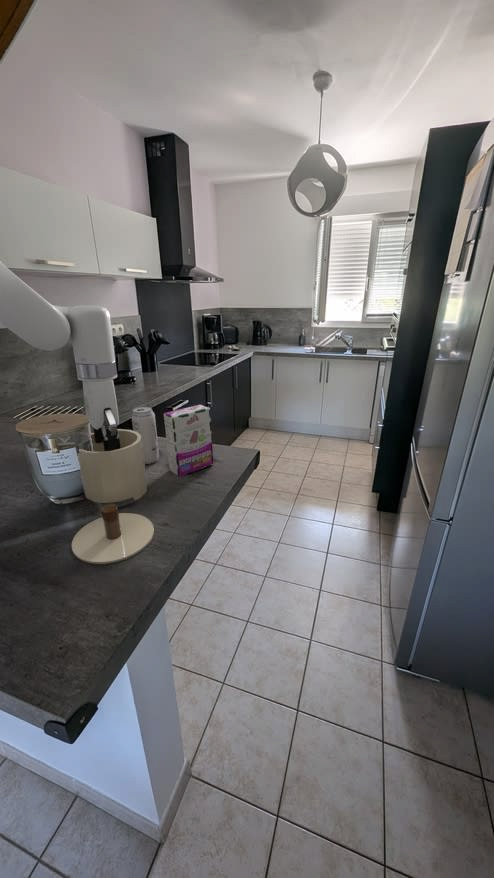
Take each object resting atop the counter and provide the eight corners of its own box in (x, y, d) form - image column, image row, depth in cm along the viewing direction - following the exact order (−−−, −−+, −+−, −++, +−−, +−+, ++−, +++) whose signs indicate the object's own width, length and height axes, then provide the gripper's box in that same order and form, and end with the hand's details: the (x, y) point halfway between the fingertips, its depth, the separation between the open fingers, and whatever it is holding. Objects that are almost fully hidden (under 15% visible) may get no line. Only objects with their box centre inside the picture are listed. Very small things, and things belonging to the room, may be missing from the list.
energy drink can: (159, 464, 97) (154, 412, 92) (136, 466, 96) (129, 413, 90) (159, 455, 103) (154, 405, 97) (137, 457, 101) (131, 407, 96)
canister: (93, 516, 74) (81, 458, 69) (80, 489, 85) (69, 436, 80) (155, 497, 81) (149, 443, 76) (136, 474, 92) (130, 425, 87)
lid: (80, 579, 58) (72, 544, 55) (66, 533, 69) (59, 501, 67) (165, 546, 66) (162, 514, 63) (140, 509, 77) (136, 480, 74)
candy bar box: (203, 459, 100) (200, 403, 94) (214, 465, 97) (211, 407, 90) (168, 471, 93) (162, 412, 87) (178, 478, 90) (173, 417, 84)
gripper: (69, 365, 77) (82, 439, 83) (85, 380, 63) (99, 467, 70) (105, 362, 81) (115, 433, 87) (128, 376, 67) (137, 459, 74)
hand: (108, 448), depth 79 cm, fingers open, 8 cm apart
